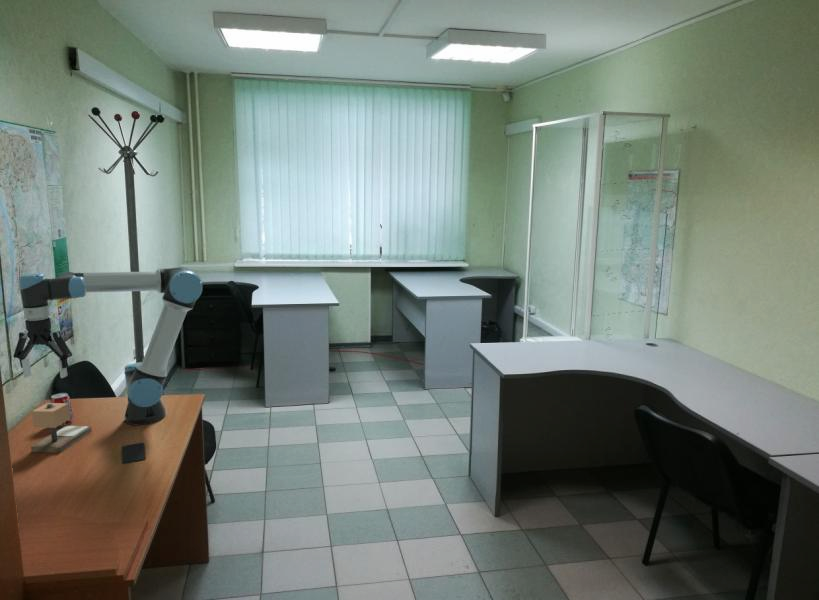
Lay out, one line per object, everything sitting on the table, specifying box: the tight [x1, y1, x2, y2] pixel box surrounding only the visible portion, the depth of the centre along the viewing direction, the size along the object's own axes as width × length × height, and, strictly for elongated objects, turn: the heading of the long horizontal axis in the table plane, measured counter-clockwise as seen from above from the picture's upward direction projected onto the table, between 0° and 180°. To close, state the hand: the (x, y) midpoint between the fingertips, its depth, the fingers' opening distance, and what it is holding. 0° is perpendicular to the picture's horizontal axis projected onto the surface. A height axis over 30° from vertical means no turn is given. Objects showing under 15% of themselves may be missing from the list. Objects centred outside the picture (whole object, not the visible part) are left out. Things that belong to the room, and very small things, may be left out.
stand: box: [30, 404, 93, 454], centre depth 218 cm, size 11×18×16 cm, turn 175°
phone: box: [121, 442, 147, 465], centre depth 209 cm, size 7×1×15 cm
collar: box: [31, 402, 70, 429], centre depth 214 cm, size 8×8×6 cm
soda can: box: [49, 392, 74, 427], centre depth 235 cm, size 7×7×12 cm
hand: (45, 376), depth 211 cm, fingers open, 13 cm apart
